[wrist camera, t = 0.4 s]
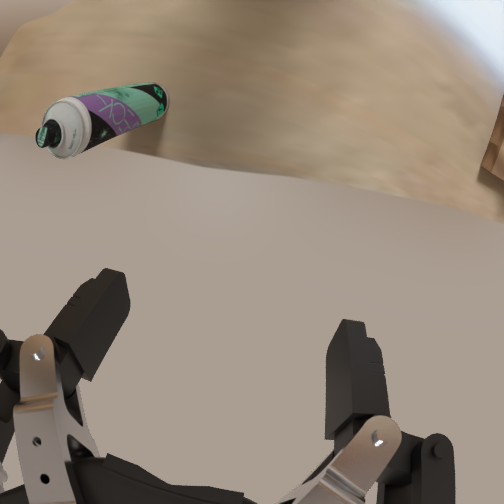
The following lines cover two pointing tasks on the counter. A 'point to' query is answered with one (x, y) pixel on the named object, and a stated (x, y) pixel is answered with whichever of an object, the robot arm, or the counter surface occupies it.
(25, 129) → the counter surface
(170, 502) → the robot arm
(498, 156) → the pocket block
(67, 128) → the spray can
